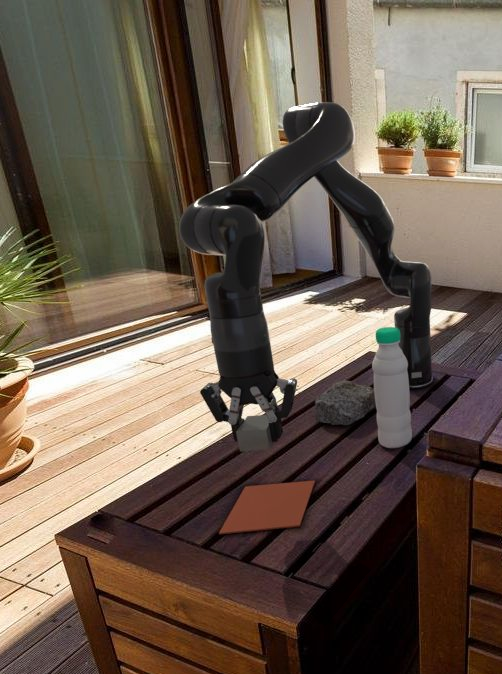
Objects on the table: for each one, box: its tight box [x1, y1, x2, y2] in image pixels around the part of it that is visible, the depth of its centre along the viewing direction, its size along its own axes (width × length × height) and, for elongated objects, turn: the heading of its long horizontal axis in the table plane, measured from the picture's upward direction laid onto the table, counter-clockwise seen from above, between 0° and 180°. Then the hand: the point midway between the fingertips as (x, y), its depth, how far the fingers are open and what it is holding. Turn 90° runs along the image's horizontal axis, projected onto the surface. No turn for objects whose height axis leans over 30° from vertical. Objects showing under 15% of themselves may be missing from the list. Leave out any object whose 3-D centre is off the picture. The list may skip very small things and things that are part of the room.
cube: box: [236, 414, 274, 453], centre depth 76 cm, size 5×4×4 cm
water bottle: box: [371, 326, 413, 449], centre depth 96 cm, size 7×7×25 cm
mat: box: [218, 480, 316, 535], centre depth 80 cm, size 12×12×1 cm
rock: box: [314, 379, 376, 426], centre depth 111 cm, size 13×6×15 cm
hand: (259, 440), depth 76 cm, fingers closed on cube, 4 cm apart
